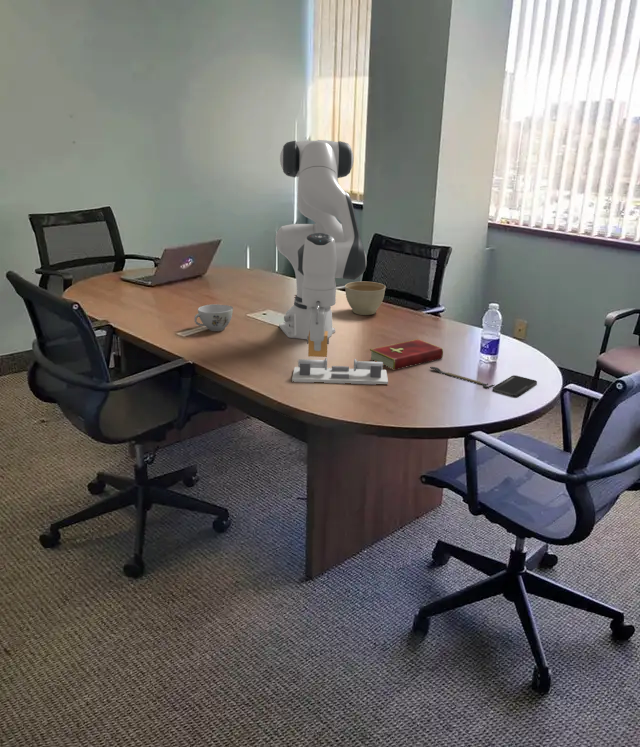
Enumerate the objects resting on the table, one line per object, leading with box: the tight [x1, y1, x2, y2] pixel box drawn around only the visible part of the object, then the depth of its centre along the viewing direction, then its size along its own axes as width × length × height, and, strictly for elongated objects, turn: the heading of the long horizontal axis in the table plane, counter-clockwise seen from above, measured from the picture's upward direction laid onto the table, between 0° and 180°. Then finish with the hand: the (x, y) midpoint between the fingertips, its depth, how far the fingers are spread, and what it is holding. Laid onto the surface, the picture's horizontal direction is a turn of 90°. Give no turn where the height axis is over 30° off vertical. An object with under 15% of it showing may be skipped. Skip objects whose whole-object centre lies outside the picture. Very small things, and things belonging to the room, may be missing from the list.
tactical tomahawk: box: [429, 366, 496, 389], centre depth 202 cm, size 21×7×1 cm, turn 46°
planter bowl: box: [344, 280, 386, 316], centre depth 267 cm, size 16×16×11 cm
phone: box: [492, 374, 538, 398], centre depth 194 cm, size 8×1×15 cm
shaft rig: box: [291, 357, 389, 385], centre depth 198 cm, size 28×10×6 cm, turn 88°
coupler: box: [306, 331, 330, 358], centre depth 180 cm, size 6×4×6 cm
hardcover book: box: [369, 338, 444, 370], centre depth 215 cm, size 12×21×4 cm, turn 125°
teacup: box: [194, 303, 234, 332], centre depth 241 cm, size 15×12×8 cm
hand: (317, 346), depth 180 cm, fingers closed on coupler, 4 cm apart
